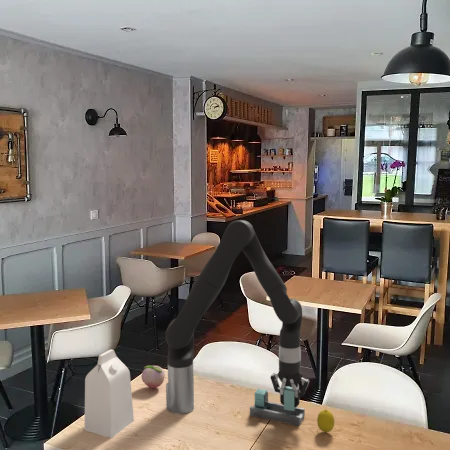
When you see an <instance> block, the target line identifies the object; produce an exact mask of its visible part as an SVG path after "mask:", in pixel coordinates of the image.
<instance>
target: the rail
mask: <svg viewBox="0 0 450 450" xmlns="http://www.w3.org/2000/svg"><path fill="white" fill-rule="evenodd" d="M305 410H306V409H305V408H304V407H299V406H297V407H296V408H295V410H294V411H290V410H285V409H284V405H282V403H279V402H273V401H269V392H268V390H267V389H262V388H257V389H256V390H255V392H254V404H253V405H251V406H250V407H249V416H250V417H254V418H259V419H264V420H269V421H274V422H278V423H283V424H288V425H293V426H298V427H300V426H301V424H302V422H303V421H304V418H305V417H306V416H305V415H306V414H305V413H306V411H305Z"/></svg>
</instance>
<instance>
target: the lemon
mask: <svg viewBox="0 0 450 450" xmlns="http://www.w3.org/2000/svg"><path fill="white" fill-rule="evenodd" d="M316 421H317V422H316V423H317V426H318V429H319V431H320V430H321V432H324V434H327V433H329V432H331V431H332V430H333V429H334V427H335V417H334V415H333V413H332V412H331V411H330V410H328V409H323V410H320V411H319V413H318V415H317V420H316Z"/></svg>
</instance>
